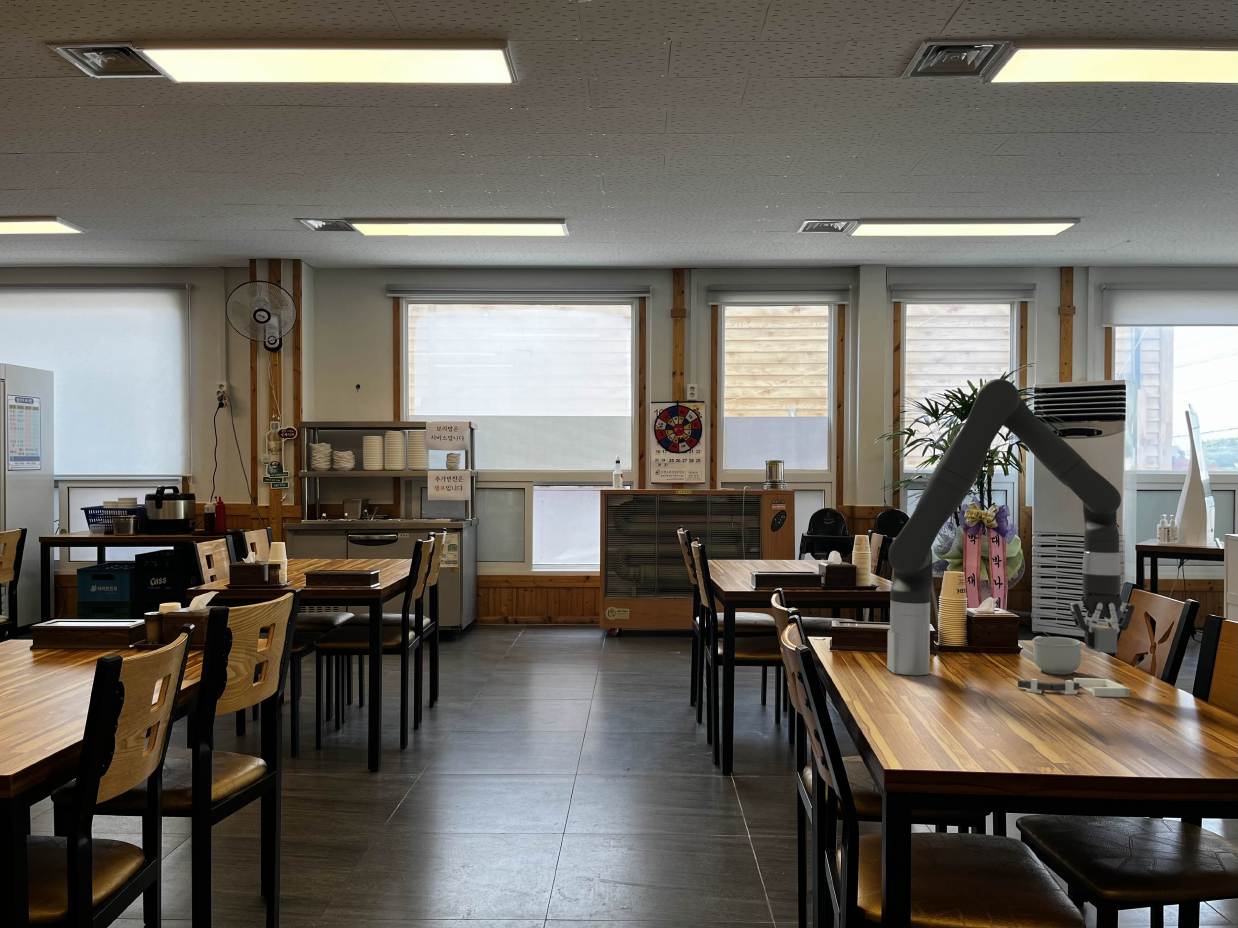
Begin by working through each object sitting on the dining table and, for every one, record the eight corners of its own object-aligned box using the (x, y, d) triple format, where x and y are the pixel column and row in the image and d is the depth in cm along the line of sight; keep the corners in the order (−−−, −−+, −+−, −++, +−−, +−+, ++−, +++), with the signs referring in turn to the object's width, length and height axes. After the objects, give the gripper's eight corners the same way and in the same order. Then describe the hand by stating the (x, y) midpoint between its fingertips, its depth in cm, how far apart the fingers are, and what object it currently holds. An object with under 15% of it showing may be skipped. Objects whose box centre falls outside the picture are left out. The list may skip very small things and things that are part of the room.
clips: (1029, 693, 200) (1029, 680, 200) (1019, 687, 206) (1019, 675, 206) (1079, 694, 200) (1079, 681, 200) (1067, 688, 205) (1067, 676, 205)
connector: (1098, 652, 201) (1098, 629, 201) (1085, 647, 207) (1085, 624, 207) (1117, 652, 200) (1117, 629, 201) (1103, 647, 206) (1103, 625, 207)
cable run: (1023, 690, 201) (1023, 683, 201) (1015, 685, 205) (1015, 679, 205) (1083, 691, 200) (1083, 685, 200) (1074, 687, 205) (1074, 680, 205)
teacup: (1089, 677, 218) (1089, 644, 219) (1043, 676, 219) (1044, 643, 219) (1062, 665, 232) (1062, 634, 232) (1019, 664, 233) (1019, 633, 233)
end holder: (1094, 696, 199) (1094, 687, 199) (1073, 685, 209) (1073, 677, 209) (1129, 696, 198) (1129, 688, 198) (1106, 686, 208) (1106, 678, 208)
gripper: (1076, 573, 200) (1076, 651, 200) (1142, 574, 200) (1142, 652, 199) (1061, 569, 208) (1061, 645, 208) (1125, 571, 207) (1125, 646, 207)
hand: (1101, 648), depth 204 cm, fingers closed on connector, 4 cm apart
